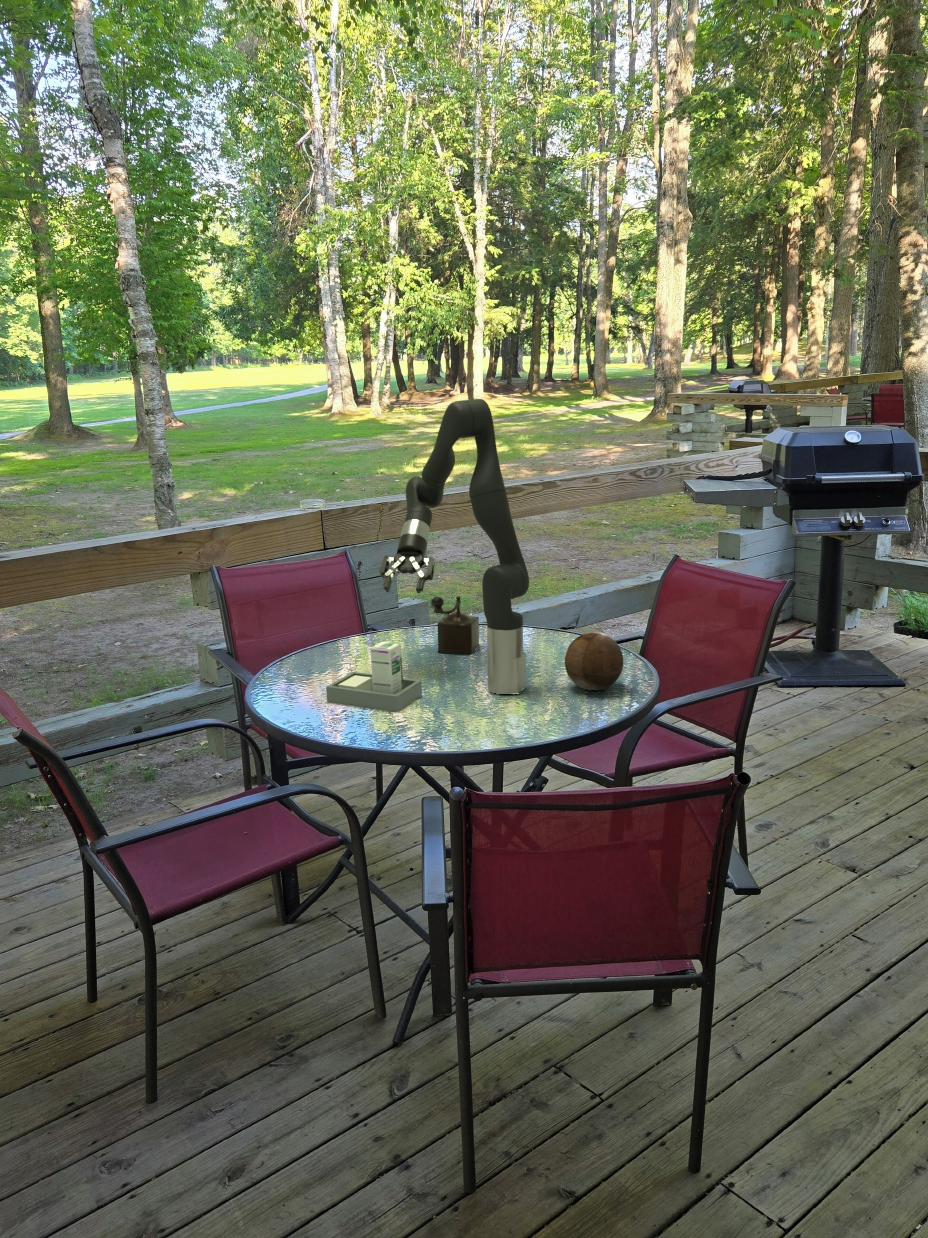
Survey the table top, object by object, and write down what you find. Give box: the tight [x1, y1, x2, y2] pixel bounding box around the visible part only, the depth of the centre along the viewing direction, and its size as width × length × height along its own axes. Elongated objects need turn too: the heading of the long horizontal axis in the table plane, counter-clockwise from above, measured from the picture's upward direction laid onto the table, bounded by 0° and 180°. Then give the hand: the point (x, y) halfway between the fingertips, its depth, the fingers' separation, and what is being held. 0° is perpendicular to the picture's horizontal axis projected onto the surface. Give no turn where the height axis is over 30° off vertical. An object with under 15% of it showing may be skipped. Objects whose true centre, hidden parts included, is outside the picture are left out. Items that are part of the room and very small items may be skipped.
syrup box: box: [369, 641, 404, 695], centre depth 224 cm, size 6×6×14 cm
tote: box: [325, 671, 423, 713], centre depth 227 cm, size 20×13×5 cm, turn 65°
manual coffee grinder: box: [430, 595, 480, 656], centre depth 268 cm, size 16×11×18 cm
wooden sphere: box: [564, 631, 624, 691], centre depth 233 cm, size 15×15×15 cm
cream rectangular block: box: [338, 675, 372, 691], centre depth 229 cm, size 5×8×4 cm, turn 155°
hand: (402, 591), depth 236 cm, fingers open, 8 cm apart
